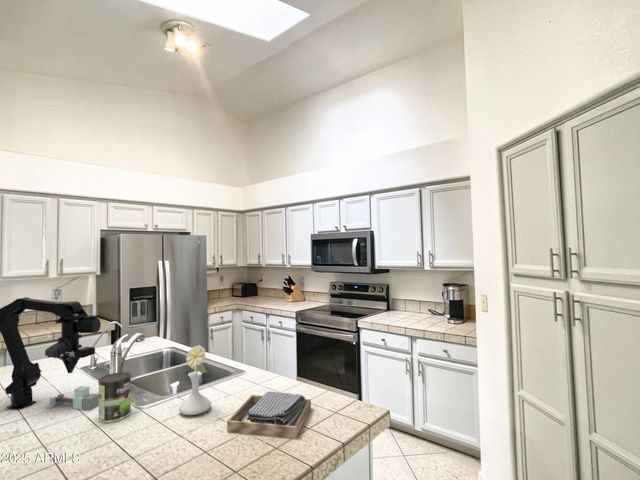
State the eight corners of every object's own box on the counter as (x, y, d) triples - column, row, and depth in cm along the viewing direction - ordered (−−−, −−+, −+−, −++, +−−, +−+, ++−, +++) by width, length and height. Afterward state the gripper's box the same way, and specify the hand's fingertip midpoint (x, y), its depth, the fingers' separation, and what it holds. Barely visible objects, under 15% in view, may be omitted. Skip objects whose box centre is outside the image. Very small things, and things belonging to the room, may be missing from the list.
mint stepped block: (72, 408, 130) (73, 389, 130) (82, 404, 134) (82, 385, 134) (81, 409, 129) (81, 390, 129) (90, 404, 133) (90, 386, 133)
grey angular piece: (46, 408, 131) (46, 396, 131) (63, 400, 138) (63, 389, 138) (86, 412, 127) (86, 400, 127) (101, 403, 134) (101, 392, 134)
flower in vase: (173, 411, 126) (173, 344, 127) (202, 401, 135) (201, 338, 136) (189, 423, 118) (189, 350, 118) (219, 411, 126) (218, 343, 127)
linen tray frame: (227, 432, 111) (227, 421, 112) (252, 404, 132) (251, 394, 132) (296, 438, 107) (296, 427, 107) (311, 408, 127) (310, 399, 127)
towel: (306, 412, 125) (306, 390, 125) (285, 439, 107) (285, 413, 108) (269, 407, 130) (269, 386, 130) (244, 431, 112) (243, 407, 113)
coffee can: (137, 410, 128) (137, 372, 128) (115, 424, 118) (115, 383, 118) (114, 408, 130) (114, 371, 130) (90, 421, 120) (91, 381, 120)
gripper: (30, 337, 130) (30, 378, 129) (70, 339, 126) (70, 382, 125) (59, 331, 141) (58, 368, 140) (96, 332, 137) (96, 371, 136)
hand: (70, 372), depth 135 cm, fingers closed
